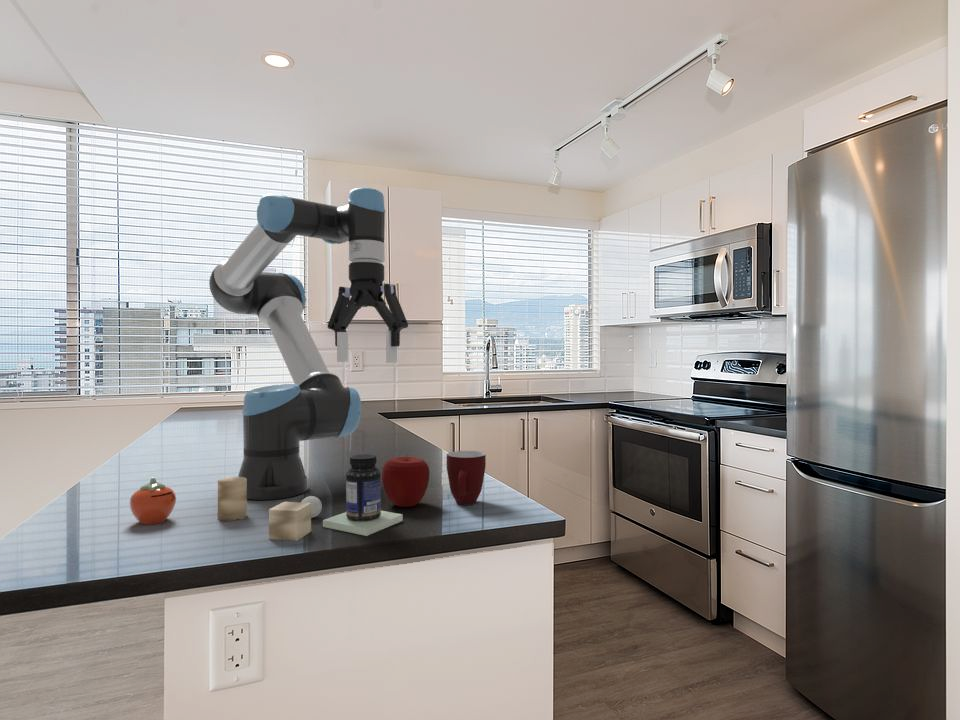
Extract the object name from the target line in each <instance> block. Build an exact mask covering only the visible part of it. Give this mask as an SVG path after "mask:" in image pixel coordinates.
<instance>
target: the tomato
mask: <svg viewBox="0 0 960 720" xmlns="http://www.w3.org/2000/svg"><path fill="white" fill-rule="evenodd" d="M176 502H177V495H176V492H175V491H174V489H172V488H171V487H168V486H167V485H165V484H164V483H162V482H158V481H157V479H156V477H151V478H150V480H149V483H146V484H143V485H142V486H140V488H139V489H138V490H136V491H134V493H132V495H130V499H129V508H130V511H131V513H132V515H133V517H134V518H135V519H136V521H137V522H139V523H141V524H142V525H146V526H148V525H157V524H162V523H164V522H165V521H166V520H167V519H168V518H169V516H171V514H172V513H173V510H174V509H175V506H176Z"/></svg>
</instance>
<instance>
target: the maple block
mask: <svg viewBox="0 0 960 720" xmlns="http://www.w3.org/2000/svg"><path fill="white" fill-rule="evenodd" d="M311 532H312V518H311V503H301V502H298V501H297V502H296V501H283V502H281V503H279V504H276V505H275V506H272V507H271V508H268V539H269V540H277V541H294V542H295V541H296V542H298V541H299V540H300V539H302V538H303V537H305V536H306V535H308V534H310V533H311Z"/></svg>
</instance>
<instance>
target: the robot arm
mask: <svg viewBox="0 0 960 720" xmlns="http://www.w3.org/2000/svg"><path fill="white" fill-rule="evenodd" d="M258 203H259V204H258V206H257V209H256V220H257V224H256V225H255V227H254V228H253V229H252V230H251V231H250V232H249V233H248V235H246V236H245V239H243V241H242V242H241V243H240V244H239V246H237V248H236V249H235V251H233V252H232V254H231V255H230V257H229V258H228V259H226V260H225V259H224V260H222V261H221V262H219V263H218V264H217V265H216V266H215V267H214V269H213V270H212V272H211V275H210V276H209V281H208V285H209V291H210V293H211V295H212V297H213V299H214V300H215V302H216V303H217V304H218V305H219V306H220V307H222V308H223V309H225V310H226V311H228V312H230V313H233V314H237V315H256V316H257V317H258V319H259V322H260V323H261V325H262V326H264V327H266V328H268V329H270V331H271V334H272V337H273V338H274V341H275V343H276V345H277V347H278V350H279V352H280V355H281V357H282V358H283V361H284V363H285V365H286V367H287V369H288V373H289V374H290V377H291V379H292V381H293V383H284V384H275V385H274V384H273V385H268V386H261V387H256V388H254V389H251V390H249V391H247V392H246V393H245V395H244V397H243V407H242V408H243V410H242V415H243V416H242V417H243V418H242V419H243V421H242V422H243V423H242V424H243V425H242V426H243V431H242V433H243V459H242V462H241V466H240V469H239V471H238V475H237V477H244V478H247V500H252V501H253V500H255V501H258V500H259V501H260V500H261V501H263V500H264V501H266V500H277V499H279V500H280V499H286V498H290V497H295V496H298V495H302V494H304V493H306V492H307V491H309V490H308V487H309V481H308V477H307V475H306V471H305V468H304V465H303V461H302V458H301V455H300V454H301V453H300V452H301V451H300V448H301V447H300V442H301V441H303V442H304V441H311V440H321V439H327V438H328V439H330V438H331V439H332V438H336V439H337V438H340V437H346V436H349V435H351V434H352V433H354V432H355V430H356V429H357V428H358V426H359V423H360V421H361V420H360V419H361V417H362V414H361V413H362V402H361V396H360V394H359V391H357V389H356V388H355V387H350V386H347V387H344V385H343V383H342V381H341V380H340V378H339V376H338V375H336V374H334V373H333V372H330V371H329V369H328V367H327V365H326V363H325V361H324V359H323V357H322V355H321V353H320V351H319V349H318V347H317V345H316V343H315V341H314V339H313V337H312V335H311V333H310V331H309V328H308V327H307V325H306V323H305V321H304V319H303V317H302V315H303V312H304V309H305V307H306V301H307V300H306V295H305V294H306V291H305V290H306V289H305V288H304V285H303V283H302V281H301V280H300V279H299V278H298V277H296V275H292V274H287V273H284V272H267V271H265V269H266V268H267V267H268V266H269V265H270V264H271V263H272V262H273V261H274V260H275V259H276V258H277V256H279V255H280V253H281V252H283V250H284V249H285V248H286V247H288V245H289V244H290V243H291V242H292V241H293V240H294V239H295V238H296V237H297V236H300V237H301V236H302V237H308V238H314V239H319V240H320V239H321V240H322V241H324V242H325V243H328V244H331V245H334V244H335V245H336V244H338V245H339V244H344V243H347V242H348V260H349V261H350V263H349V264H348V280H349V282H350V287H347V286H339V287H338V292H337V293H338V294H337V295H338V296H337V298H336V300H335V301H336V302H335V305H334V307H333V310H332V312H331V315H330V318H329V320H328V323H327V329H329V330H332V331H333V332H334V345H335V347H336V362H337V363H347V362H349V332H348V330H347V328H348V327H349V325H350V324H351V322H352V321H353V319H354V318H355V316H356V314H357V313H358V311H359V310H360V309H362V308H367V307H372V308H374V309H375V310H376V312H377V313H378V315H379V316H380V317H381V319H382V320H383V322H384V323H385V325H386V326H387V327H388V328H387V330H386V333H385V336H386V338H385V341H386V343H385V346H386V347H385V349H386V350H385V353H386V354H385V355H386V358H385V363H387V364H391V363H396V364H397V363H398V347H400V345H401V344H400V343H401V342H400V341H401V330H403V329H408V327H409V323H408V320H407V318H406V315H405V314H404V311H403V308H402V306H401V303H400V301H399V298H398V296H397V289H396V285H395V284H392V283H384V284H383V282H385V265H384V264H383V263H384V262H385V257H386V256H385V255H386V253H385V232H386V231H385V229H386V227H385V224H386V223H385V222H386V221H385V220H386V219H385V217H386V209H385V196H384V194H383V192H381V191H380V190H378V189H375V188H371V187H357V188H353V189H351V190H350V191H349V194H348V200H347V203H348V204H346V205H342V206H336V205H331V204H326V203H321V202H316V201H310V200H304V199H301V198H295V197H290V196H287V195H283V194H281V195H280V194H273V193H267V194H265V195H263V196H262V197H261V198H260V200H259V202H258ZM383 295H384V298H385V300H386V301H385V300H384V298H383ZM386 302H387V303H386Z"/></svg>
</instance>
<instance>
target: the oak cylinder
mask: <svg viewBox="0 0 960 720" xmlns="http://www.w3.org/2000/svg"><path fill="white" fill-rule="evenodd" d="M247 502H248V499H247V478H244V477H238V476H229V477H223V478H220V479H218V480H217V520H218V519H219V520H218V521H221V520H223V521H222V522H232V521H231V520H234V521H238V520H237V519H240V520H242V519H241V518H243V519H245V518H247V515H248V514H247V513H248V512H247V511H248V509H247V506H248V505H247V504H248V503H247ZM244 517H245V518H244ZM225 520H226V521H225ZM229 520H230V521H229Z"/></svg>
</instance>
